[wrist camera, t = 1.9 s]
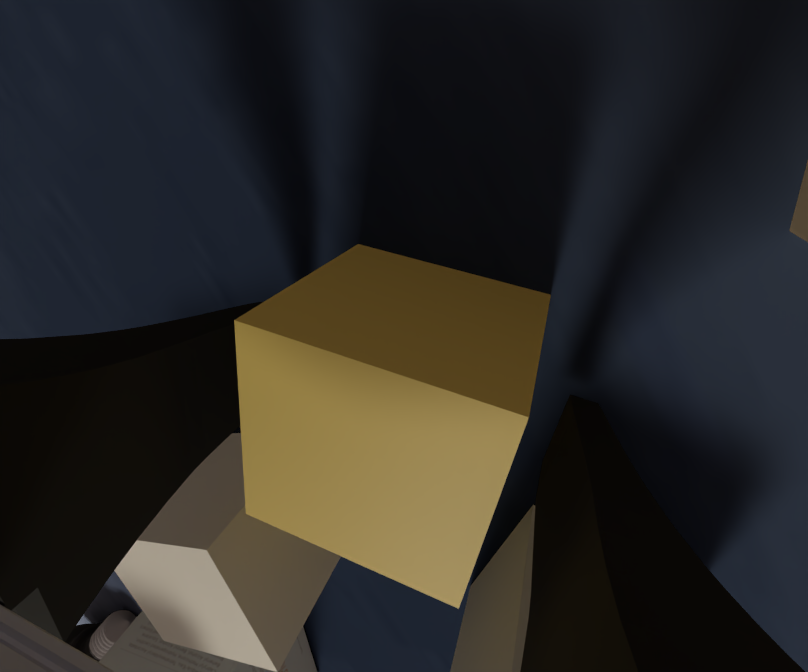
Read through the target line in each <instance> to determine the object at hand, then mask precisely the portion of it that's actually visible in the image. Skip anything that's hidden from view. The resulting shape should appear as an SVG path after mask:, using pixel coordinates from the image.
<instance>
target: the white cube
mask: <svg viewBox="0 0 808 672" xmlns="http://www.w3.org/2000/svg"><path fill="white" fill-rule="evenodd" d="M340 557H341V556H339V555H337V554H335V553H333V552H330V551H328V550H326V549H324V548H321V547H319V546H317V545H315V544H312V543H310V542H308V541H306V540H303V539H301V538H299V537H297V536H294V535H292V534H290V533H288V532H286V531H283V530H281V529H279V528H277V527H274V526H272V525H270V524H268V523H265V522H263V521H261V520H259V519H256V518H254V517H252V516H250V515H247V514H246V509H245V492H244V475H243V459H242V442H241V433H232V434H231V435H230V436H229V437H228V438H227V439H225V440H224V441H223V442H222V443H221V444H220V445H219V446H218V447H217V448H216V449H215V450H214V451H213V452H212V453H211V454H210V455H209V456H208V457H207V458H206V459H205V460H204V461H203V462H202V463H201V464H200V465H199V466H198V467H197V468H196V469H195V470H194V471H193V472H192V473H191V475H190V476H189V477H188V478H187V479H186V480H185V482H184V483H183V484H182V485H181V486H180V487H179V489H178V490H177V491H176V492H175V493H174V495H173V496H172V497H171V498H170V499H169V500H168V502H167V503H166V504H165V505H164V507H163V508H162V509H161V510H160V512H159V513H158V514H157V515H156V517H155V518H154V519H153V520H152V522H151V523H150V524H149V525H148V527H147V528H146V529H145V530H144V532H143V533H142V534H141V535H140V537H139V538H138V539H137V541H136V542H135V543H134V545H133V546H132V547H131V549H130V550H129V551H128V553H127V554H126V555H125V557H124V558H123V559H122V561H121V562H120V563H119V565H118V566H117V567H116V569H115V572H116V573H117V575H118V576H119V578H120V579H121V580H122V582H123V583H124V585H125V586H126V588H127V589H128V590H129V592H130V593H131V595H132V596H133V598H134V599H135V600H136V602H137V603H138V605H139V606H140V608H141V609H142V610H143V612H144V613H145V615H146V616H147V618H148V619H149V620H150V622H151V623H152V625H153V626H154V628H155V629H156V630H157V632H158V633H159V635H160V636H161V638H162V639H163V640H164V641H166V642H170V643H173V644H177V645H181V646H184V647H188V648H192V649H195V650H199V651H202V652H206V653H210V654H213V655H217V656H220V657H224V658H228V659H231V660H235V661H239V662H242V663H246V664H249V665H253V666H257V667H260V668H264V669H268V670H271V671H275V672H278V671H279V669H280V668H281V666H282V664H283V662H284V660H285V658H286V657H287V655H288V653H289V651H290V649H291V647H292V645H293V644H294V642H295V640H296V638H297V636H298V634H299V633H300V631H301V629H302V627H303V625H304V623H305V621H306V620H307V618H308V616H309V614H310V612H311V610H312V609H313V607H314V605H315V603H316V601H317V599H318V597H319V596H320V594H321V592H322V590H323V588H324V586H325V585H326V583H327V581H328V579H329V577H330V575H331V573H332V572H333V570H334V568H335V566H336V564H337V562H338V561H339V559H340Z"/></svg>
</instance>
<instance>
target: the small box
mask: <svg viewBox="0 0 808 672" xmlns="http://www.w3.org/2000/svg"><path fill="white" fill-rule="evenodd" d="M99 663H101V664H103V665H104V666H106V667H108V668H110V669H111V670H113V671H115V672H275V671H271V670H268V669H264V668H260V667H257V666H253V665H249V664H246V663H242V662H239V661H235V660H231V659H228V658H224V657H220V656H217V655H213V654H210V653H206V652H202V651H199V650H195V649H192V648H188V647H184V646H181V645H177V644H173V643H170V642H166V641H164V640H163V639H162V638H161V636H160V635H159V633H158V632H157V630H156V629H155V628H154V626H153V625H152V623H151V622H150V620H149V619H148V618H147V616H146V615H145V613H144V612H143V611H142V612H141V613H140V614H139V615H138V616H137V617H136V619H135V620H134V621H133V622H132V623H131V625H130V626H129V627H128V628H127V629H126V631H125V632H124V633H123V634H122V635H121V636H120V638H119V639H118V640H117V641H116V642H115V644H114V645H113V646H112V647H111V648H110V649H109V650H108V652H107V653H106V654H105V655H104V656H103V657H102V659H101V660H100V661H99ZM278 672H317V669H316V666H315V663H314V660H313V656H312V653H311V650H310V647H309V644H308V640H307V637H306V634H305V631H304V627H302V629H301V631H300V633H299V634H298V636H297V638H296V640H295V642H294V644H293V645H292V647H291V649H290V651H289V653H288V655H287V657H286V658H285V660H284V662H283V664H282V666H281V668H280V669H279V671H278Z"/></svg>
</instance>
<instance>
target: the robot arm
mask: <svg viewBox="0 0 808 672" xmlns="http://www.w3.org/2000/svg"><path fill="white" fill-rule="evenodd" d="M261 303H263V302H258V303H252V304H247V305H242V306H237V307H233V308H228V309H224V310H219V311H215V312H211V313H206V314H202V315H197V316H193V317H189V318H184V319H179V320H174V321H169V322H164V323H158V324H153V325H148V326H143V327H137V328H131V329H125V330H118V331H110V332H102V333H94V334H85V335H72V336H58V337H44V338H30V339H0V672H115V671H113V670H111V669H110V668H108V667H106V666H104V665H103V664H101V663H99V662H98V661H96V660H94V659H92V658H91V657H89V656H87V655H86V654H84V653H82V652H81V651H79V650H77V649H75V648H74V647H72V646H70V645H69V644H67V643H65V641H66V640H67V638H68V637H69V635H70V634H71V632H72V631H73V629H74V627H75V626H76V624H77V623H78V622H79V620H80V619H81V617H82V616H83V614H84V613H85V611H86V610H87V609H88V607H89V606H90V604H91V603H92V601H93V600H94V598H95V597H96V596H97V594H98V593H99V591H100V590H101V588H102V587H103V585H104V584H105V582H106V581H107V580H108V578H109V577H110V576H111V574H112V573H113V571H114V570H115V569H116V567H117V566H118V565H119V563H120V562H121V561H122V559H123V558H124V557H125V555H126V554H127V553H128V551H129V550H130V549H131V547H132V546H133V545H134V543H135V542H136V541H137V539H138V538H139V537H140V535H141V534H142V533H143V532H144V530H145V529H146V528H147V527H148V525H149V524H150V523H151V522H152V520H153V519H154V518H155V517H156V515H157V514H158V513H159V512H160V510H161V509H162V508H163V507H164V505H165V504H166V503H167V502H168V500H169V499H170V498H171V497H172V496H173V495H174V493H175V492H176V491H177V490H178V489H179V487H180V486H181V485H182V484H183V483H184V482H185V480H186V479H187V478H188V477H189V476H190V475H191V473H192V472H193V471H194V470H195V469H196V468H197V467H198V466H199V465H200V464H201V463H202V462H203V461H204V460H205V459H206V458H207V457H208V456H209V455H210V454H211V453H212V452H213V451H214V450H215V449H216V448H217V447H218V446H219V445H220V444H221V443H222V442H223V441H224V440H225V439H227V438H228V437H229V436H230V435H231V434H232V433H233V432H234V431H235V430H236V429H237V428H238V427H239V426H240V408H239V392H238V375H237V358H236V342H235V325H234V320H235V319H237V318H239V317H240V316H242V315H243V314H245V313H247V312H248V311H250V310H252V309H253V308H255V307H256V306H258V305H260V304H261ZM520 672H805V671H804V670H803V669H802V668H801V667H800V666H799V665H798V664H797V663H796V662H795V661H794V660H792V659H791V658H790V657H789V656H788V655H787V654H786V653H785V652H784V651H783V650H782V649H781V648H780V647H779V646H778V645H777V643H776V642H775V641H774V640H773V639H772V638H771V637H770V636H769V635H768V634H767V633H766V632H765V631H764V630H763V629H762V628H761V627H760V626H759V625H758V624H757V623H756V622H755V621H754V620H753V619H752V618H751V616H750V615H749V614H748V613H747V612H746V611H745V610H744V609H743V608H742V607H741V606H740V604H739V603H738V602H737V601H736V600H735V599H734V598H733V597H732V596H731V595H730V594H729V592H728V591H727V590H726V589H725V588H724V587H723V586H722V585H721V584H720V582H719V581H718V580H717V579H716V578H715V577H714V575H713V574H712V573H711V572H710V571H709V570H708V569H707V567H706V566H705V565H704V564H703V563H702V561H701V560H700V559H699V558H698V556H697V555H696V554H695V553H694V551H693V550H692V549H691V548H690V546H689V545H688V544H687V543H686V541H685V540H684V539H683V538H682V536H681V535H680V534H679V533H678V531H677V530H676V529H675V527H674V526H673V525H672V523H671V522H670V520H669V519H668V518H667V516H666V515H665V514H664V512H663V511H662V509H661V508H660V506H659V505H658V503H657V502H656V500H655V499H654V498H653V496H652V495H651V493H650V492H649V490H648V489H647V487H646V486H645V484H644V483H643V481H642V479H641V478H640V476H639V475H638V473H637V472H636V470H635V468H634V467H633V465H632V463H631V462H630V460H629V458H628V457H627V455H626V453H625V451H624V450H623V448H622V446H621V444H620V442H619V441H618V439H617V437H616V435H615V433H614V431H613V430H612V428H611V426H610V424H609V422H608V420H607V418H606V417H605V415H604V413H603V411H602V409H601V407H600V406H599V404H598V403H595V402H592V401H589V400H585V399H582V398H579V397H576V396H573V395H570V396H569V399H568V401H567V403H566V406H565V408H564V411H563V413H562V415H561V418H560V420H559V423H558V425H557V427H556V430H555V432H554V435H553V437H552V440H551V442H550V444H549V447H548V449H547V452H546V454H545V456H544V459H543V462H542V467H541V473H540V478H539V483H538V489H537V495H536V503H535V521H534V540H533V560H532V581H531V597H530V608H529V618H528V625H527V631H526V638H525V644H524V651H523V658H522V664H521V670H520Z"/></svg>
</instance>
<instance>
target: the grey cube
mask: <svg viewBox="0 0 808 672" xmlns="http://www.w3.org/2000/svg"><path fill="white" fill-rule="evenodd" d="M534 521H535V505H532V507H531V508H530V509H529V511H528V512H527V513H526V515H525V516H524V517H523V518H522V520H521V521H520V522H519V524H518V525H517V526H516V528H515V529H514V530H513V531H512V533H511V534H510V535H509V537H508V538H507V539H506V541H505V542H504V543H503V544H502V546H501V547H500V548H499V550H498V551H497V552H496V554H495V555H494V556H493V557H492V559H491V560H490V561H489V563H488V564H487V565H486V567H485V568H484V569H483V570H482V572H481V573H480V574H479V576H478V577H477V578H476V580H475V581H474V582H473V583H472V585H471V586H470V591H469V595H468V599H467V603H466V607H465V612H464V616H463V620H462V624H461V629H460V633H459V637H458V641H457V645H456V650H455V654H454V658H453V662H452V667H451V671H450V672H520V670H521V664H522V658H523V651H524V644H525V638H526V631H527V625H528V618H529V608H530V597H531V581H532V560H533V540H534Z"/></svg>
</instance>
